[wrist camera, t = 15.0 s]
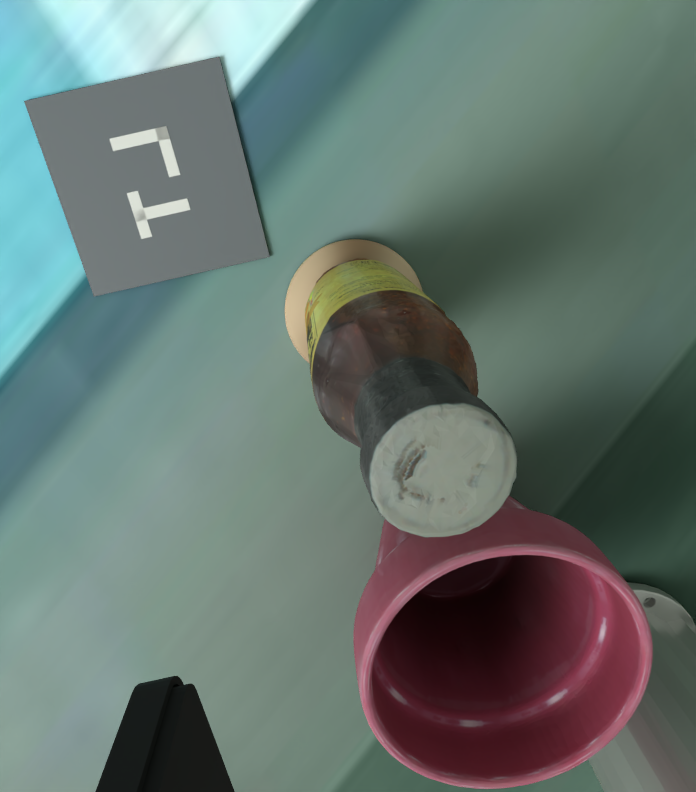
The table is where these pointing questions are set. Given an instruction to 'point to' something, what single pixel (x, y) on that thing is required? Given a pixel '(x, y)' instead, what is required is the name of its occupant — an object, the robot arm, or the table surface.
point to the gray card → (151, 176)
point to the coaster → (320, 264)
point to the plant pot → (498, 650)
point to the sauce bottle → (406, 400)
